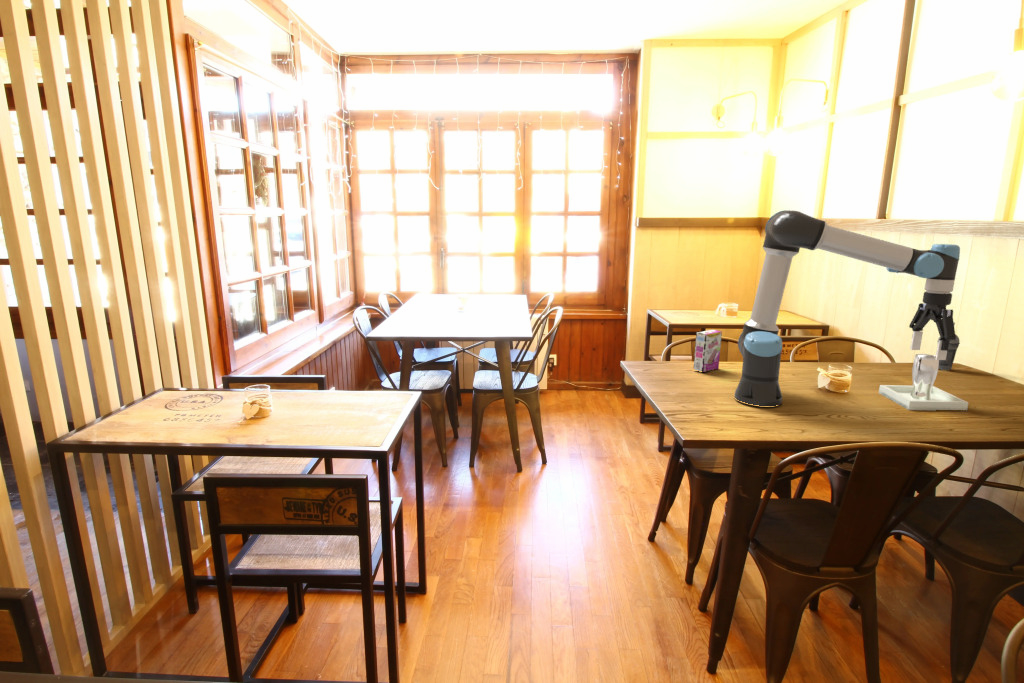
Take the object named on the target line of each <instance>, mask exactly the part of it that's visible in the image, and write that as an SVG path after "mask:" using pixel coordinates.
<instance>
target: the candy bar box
mask: <svg viewBox="0 0 1024 683" xmlns="http://www.w3.org/2000/svg"><path fill="white" fill-rule="evenodd" d="M695 334H696V336H695V344H694V345H695V347H694V360H693V369H695V370H698V371H702V372H705V371H709V370H713V369H716V370H719V369H718V368H719V367H720V366H719V365H720V356H721V344H722V336H723V335H722V334H723V332H722V331H721V330H718V329H717V330H716V329H709V330H704V331H699V332H698V331H697V332H696V333H695ZM713 371H714V370H713ZM709 372H710V371H709ZM705 373H706V372H705Z"/></svg>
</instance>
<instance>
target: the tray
mask: <svg viewBox="0 0 1024 683" xmlns="http://www.w3.org/2000/svg"><path fill="white" fill-rule="evenodd" d="M912 388H913V385H906V384H905V385H902V384H901V385H898V384H897V385H896V384H893V385H891V384H879V389H878V394H880V395H882V396H883V397H885V398H887V399H888V400H891V401H892V402H894V403H896V404H898V405H899V406H900V407H902V408H904V409H907V410H908V411H936V410H966V411H965V412H968V407H969V402H968V401H966V400H964V399H962V398H961V397H958V396H955V395H954V394H952V393H949V392H947V391H945V390H943V389H941V388H938V387H936V386H935V385H933V386H932V390H931V401H930V400H914V399H912V398H910V394H911V392H912Z"/></svg>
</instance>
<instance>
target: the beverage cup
mask: <svg viewBox="0 0 1024 683" xmlns="http://www.w3.org/2000/svg"><path fill="white" fill-rule="evenodd" d="M953 322H954V321H953ZM955 324H956V322H954V326H955ZM955 336H956V339H955V340H951V341H950V342H949V347H948V350H947V355H946V360H939V366H938V369H941V370H940V371H942V370H951V371H952V368H953V365H954V361H955V358H956V354H957V351H958V348H959V346H960V344H961V343H960V337H959V336H958V335H957V334H956V333H955ZM944 337H945V336H944ZM939 339H940V336H939V337H938V339H937V343H938V341H939Z"/></svg>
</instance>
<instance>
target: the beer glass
mask: <svg viewBox="0 0 1024 683" xmlns="http://www.w3.org/2000/svg"><path fill="white" fill-rule="evenodd" d="M935 358H936V355H933V354H929V353H928V354H927V353H916V354H914V360H913V363H912V364H913V365H912V368H911V369H912V370H911V371H912V372H911V375H912V376H911V377H912V378H911V379H912V386H913V388H912V392H911V394H910V398H912V399H914V400H930V401H931V390H932V386H934V383H935V381H936V378H937V375H938V372H939V370H938V366H939V360H936V359H935Z"/></svg>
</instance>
